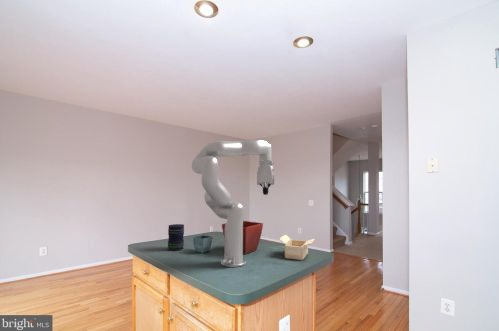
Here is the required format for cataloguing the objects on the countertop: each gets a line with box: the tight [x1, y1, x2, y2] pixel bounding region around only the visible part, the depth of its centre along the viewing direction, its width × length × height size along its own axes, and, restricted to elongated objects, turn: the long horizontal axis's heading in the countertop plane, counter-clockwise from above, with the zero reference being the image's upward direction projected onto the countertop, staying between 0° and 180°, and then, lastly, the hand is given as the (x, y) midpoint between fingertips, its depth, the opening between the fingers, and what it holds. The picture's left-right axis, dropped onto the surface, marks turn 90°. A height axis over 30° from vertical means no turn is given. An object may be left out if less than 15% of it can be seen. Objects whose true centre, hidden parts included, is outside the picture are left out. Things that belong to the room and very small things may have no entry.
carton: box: [284, 239, 309, 261], centre depth 142 cm, size 17×10×7 cm, turn 157°
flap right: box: [303, 238, 315, 246], centre depth 139 cm, size 14×4×1 cm, turn 157°
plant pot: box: [221, 220, 264, 255], centre depth 152 cm, size 19×19×17 cm
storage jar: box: [167, 223, 185, 252], centre depth 156 cm, size 10×10×15 cm
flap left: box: [278, 234, 292, 245], centre depth 145 cm, size 14×4×1 cm
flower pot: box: [192, 234, 213, 254], centre depth 150 cm, size 9×9×9 cm
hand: (265, 194), depth 146 cm, fingers closed
